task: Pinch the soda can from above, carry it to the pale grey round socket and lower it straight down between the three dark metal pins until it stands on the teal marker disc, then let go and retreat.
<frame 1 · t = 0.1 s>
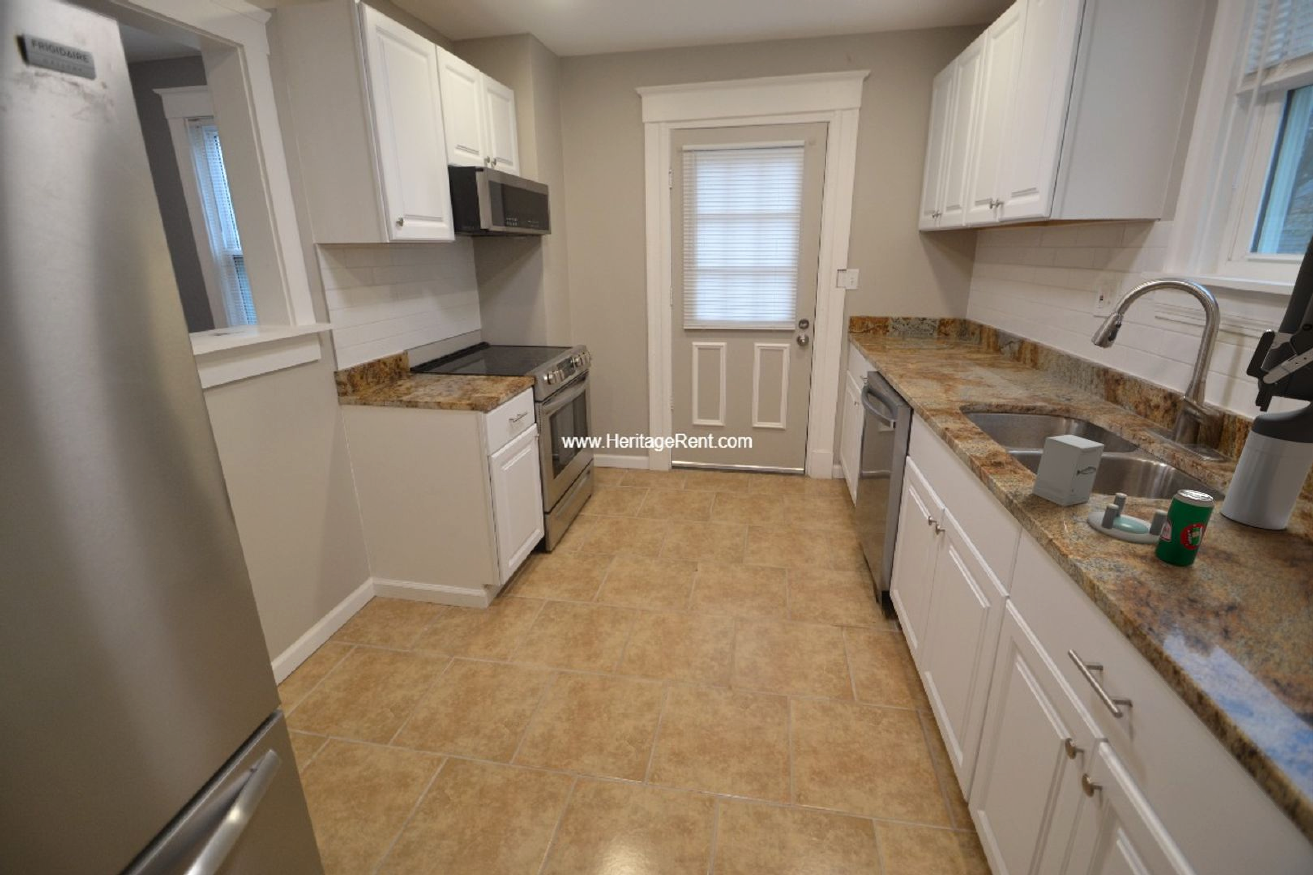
hand: (1309, 417, 75), 29 cm above the worktop, tool pointing down, fingers open, 8 cm apart
pin socket: (1123, 528, 109), on the worktop
soda can: (1172, 561, 98), on the worktop
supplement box: (1059, 498, 122), on the worktop
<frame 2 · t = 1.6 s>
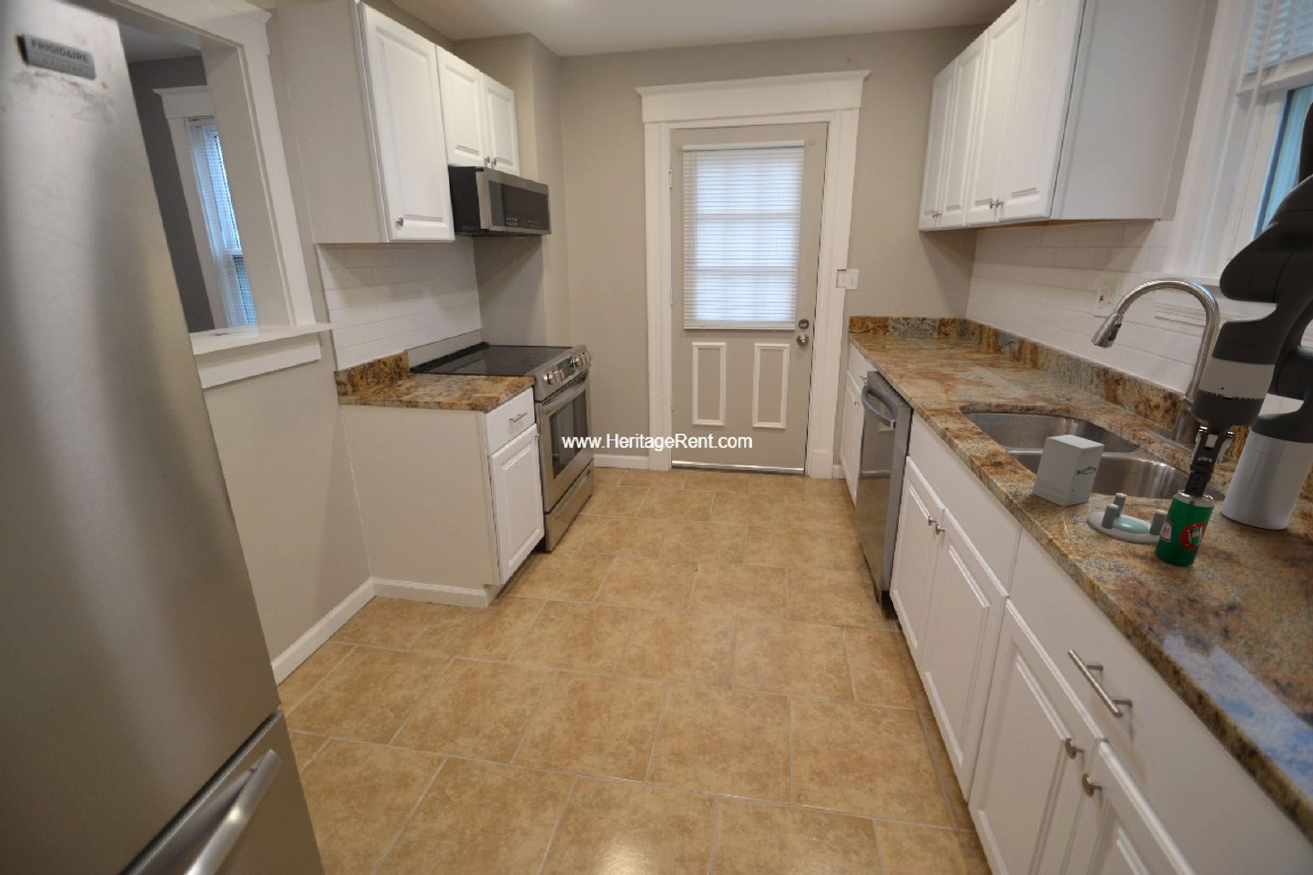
hand: (1196, 488, 94), 13 cm above the worktop, tool pointing down, fingers open, 8 cm apart
nothing on the worktop moved.
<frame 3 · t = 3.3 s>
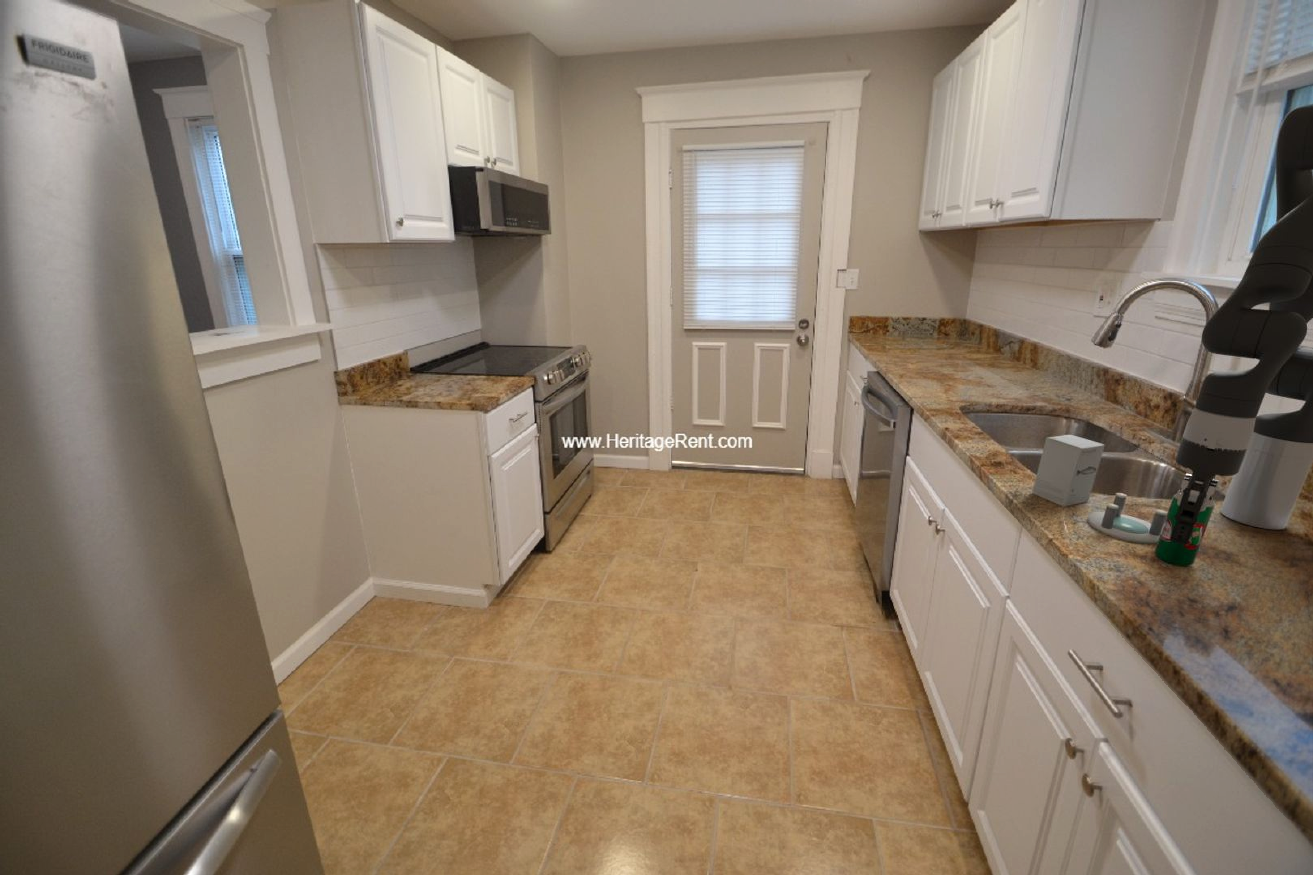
hand: (1180, 536, 97), 4 cm above the worktop, tool pointing down, fingers closed on soda can, 5 cm apart
soda can: (1172, 561, 98), on the worktop, touching gripper
everything else where it was.
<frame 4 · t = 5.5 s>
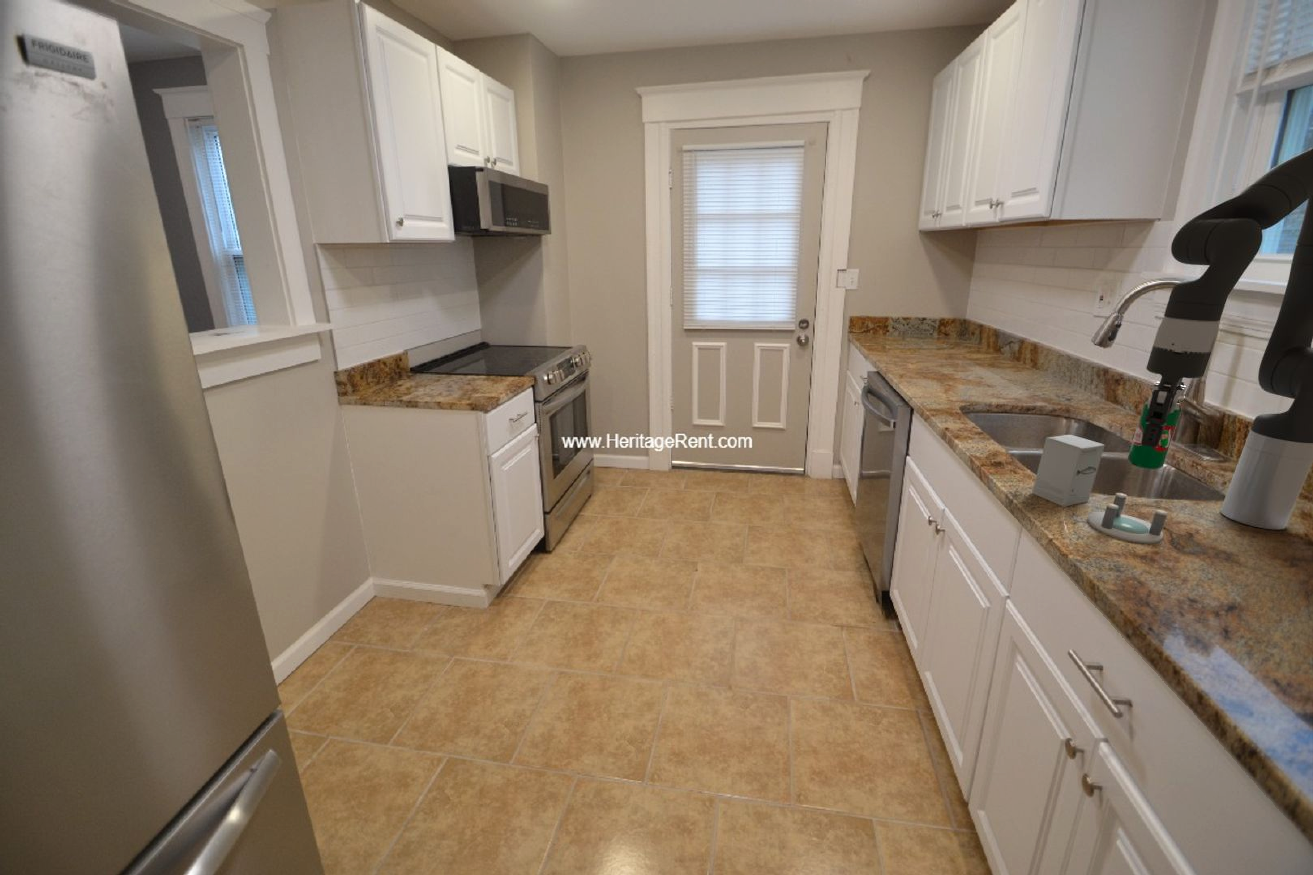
hand: (1151, 442, 103), 17 cm above the worktop, tool pointing down, fingers closed on soda can, 5 cm apart
soda can: (1143, 466, 105), point 12 cm above the worktop, touching gripper
everything else where it was.
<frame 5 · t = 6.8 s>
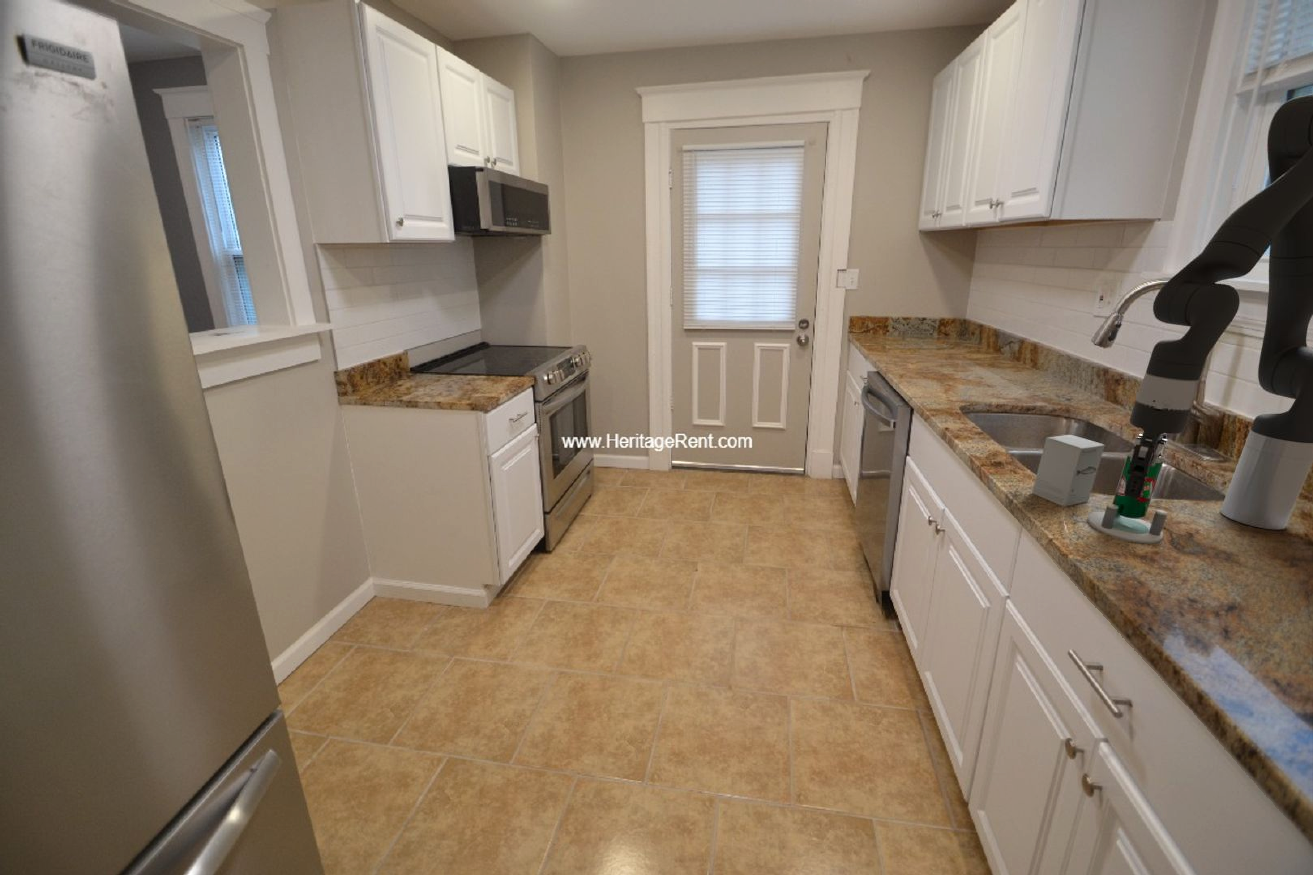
hand: (1134, 492, 106), 7 cm above the worktop, tool pointing down, fingers closed on soda can, 5 cm apart
soda can: (1127, 514, 108), point 3 cm above the worktop, touching gripper
everything else where it was.
when the fingers open (7 cm above the worktop, at t = 7.8 s): soda can drops 1 cm, resting on pin socket.
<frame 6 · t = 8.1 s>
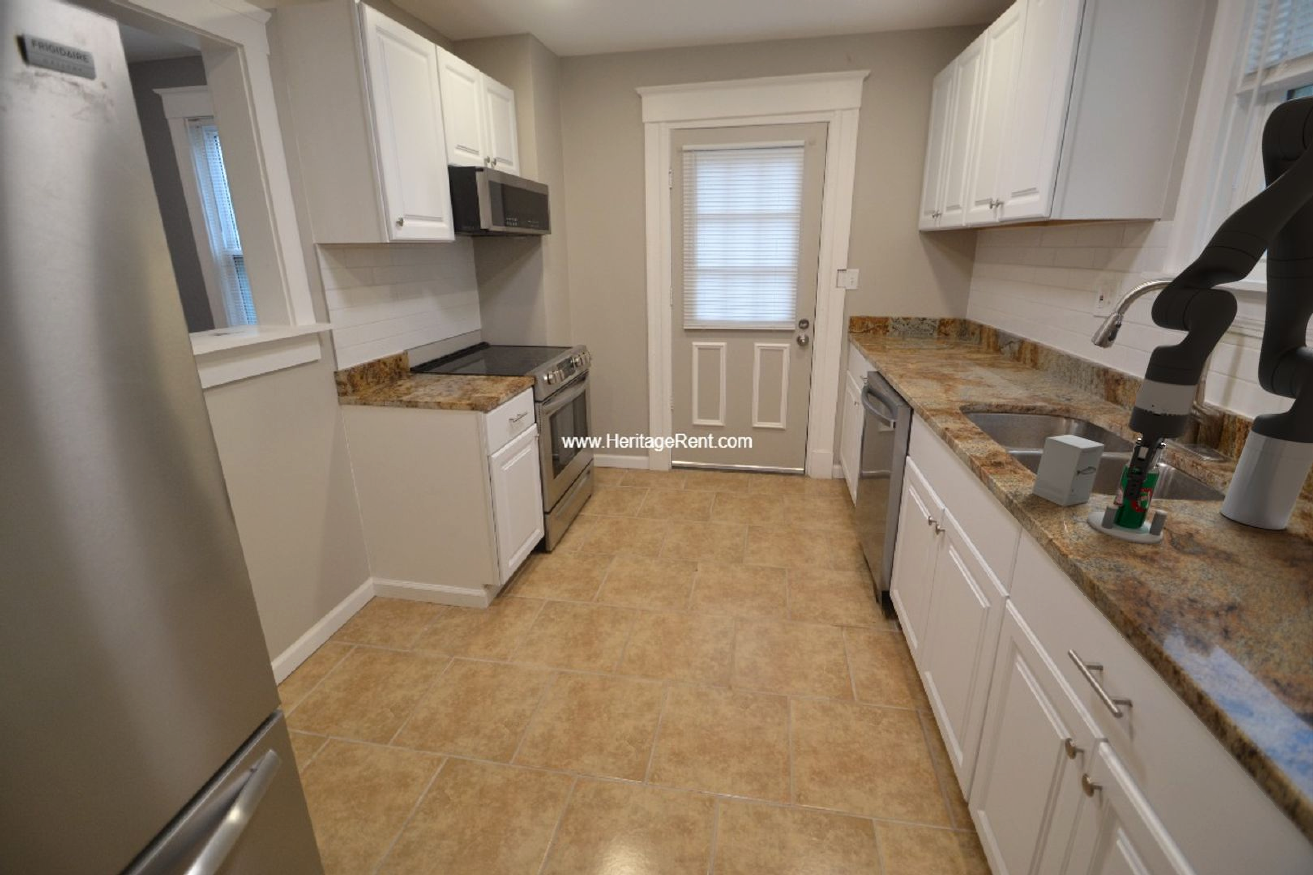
hand: (1134, 493, 106), 7 cm above the worktop, tool pointing down, fingers open, 7 cm apart
soda can: (1124, 524, 109), point 1 cm above the worktop, touching pin socket
everything else where it was.
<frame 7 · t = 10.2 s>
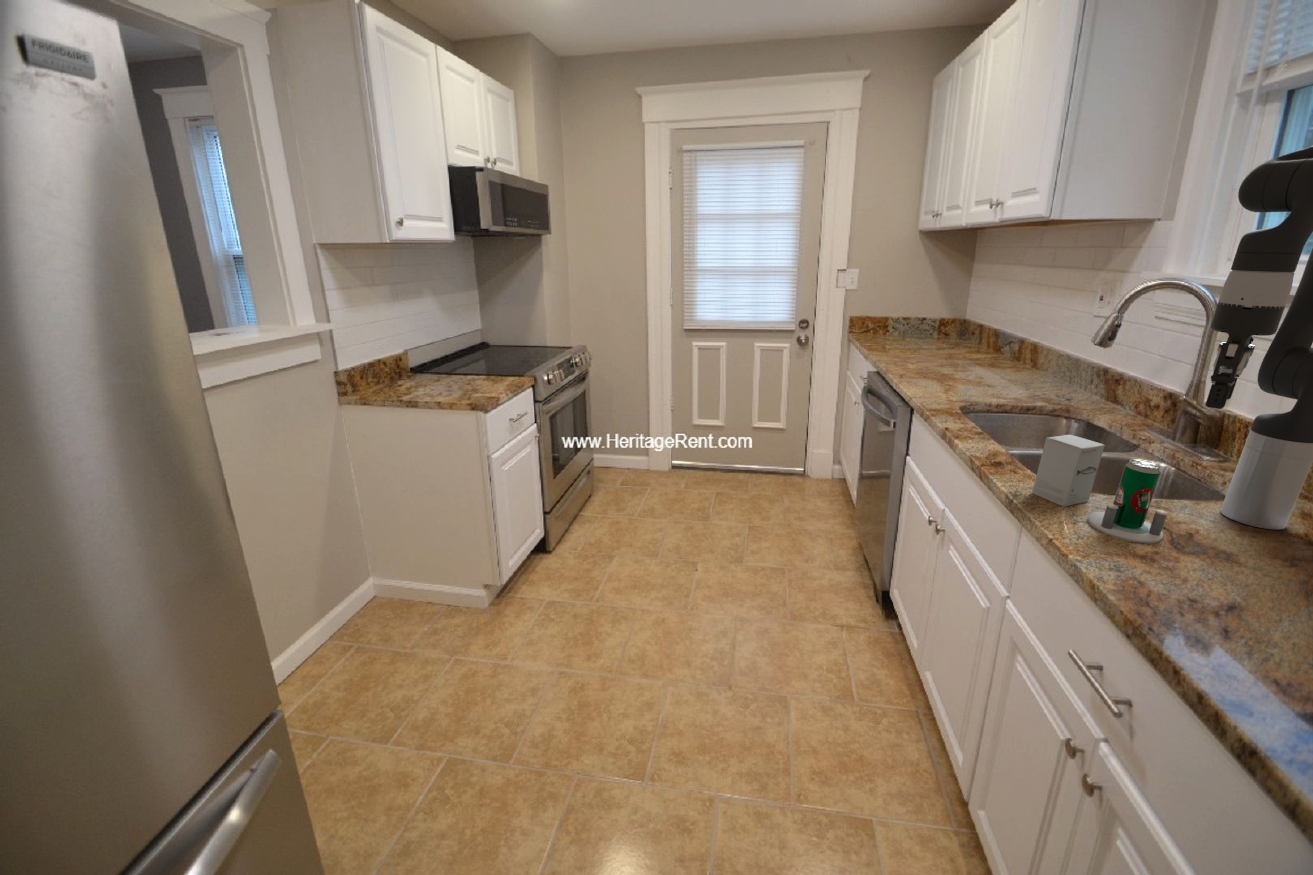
hand: (1217, 403, 96), 26 cm above the worktop, tool pointing down, fingers open, 8 cm apart
nothing on the worktop moved.
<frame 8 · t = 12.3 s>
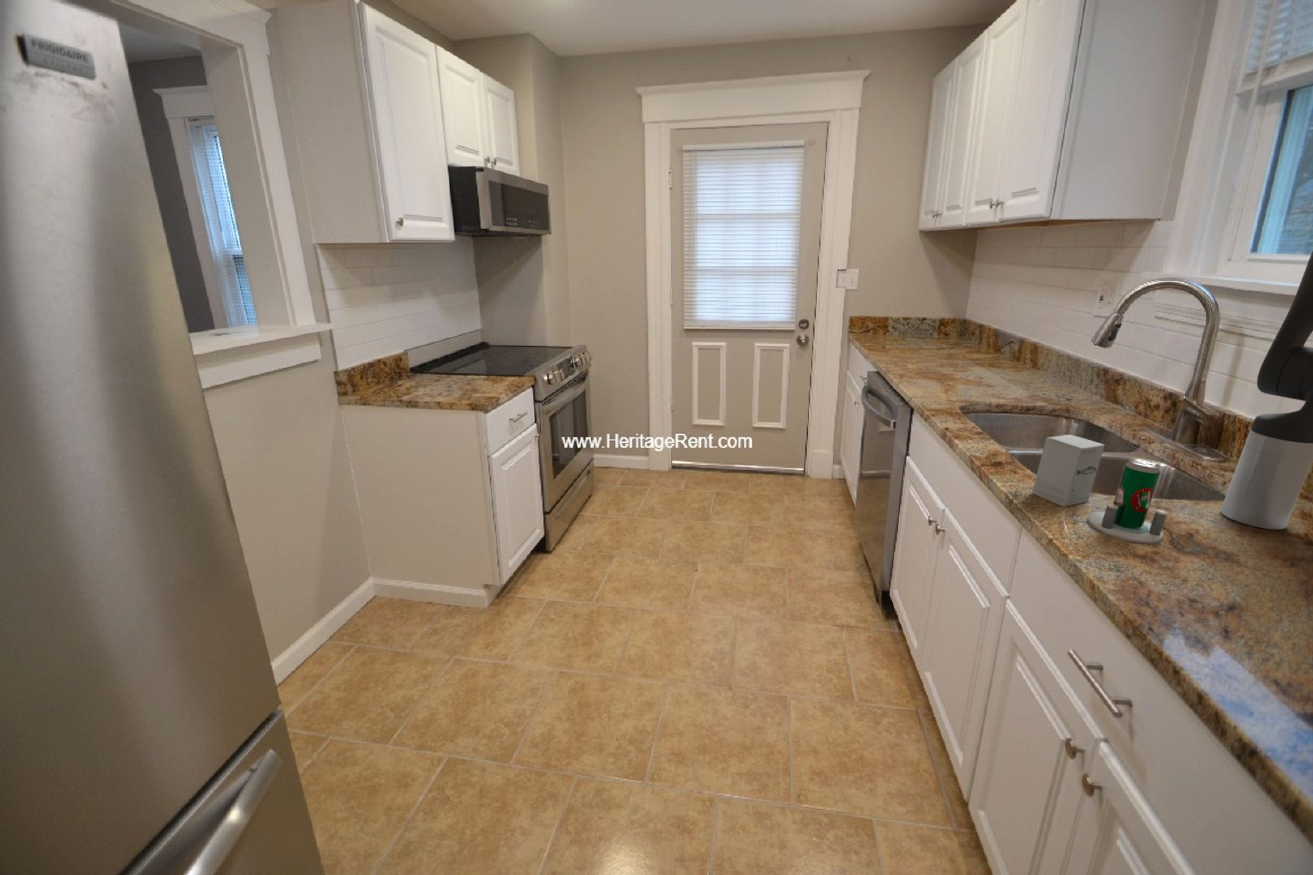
nothing on the worktop moved.
at the end: soda can 0.1 cm from the pin socket (horizontally); soda can tilted 1°; soda can touching pin socket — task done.
